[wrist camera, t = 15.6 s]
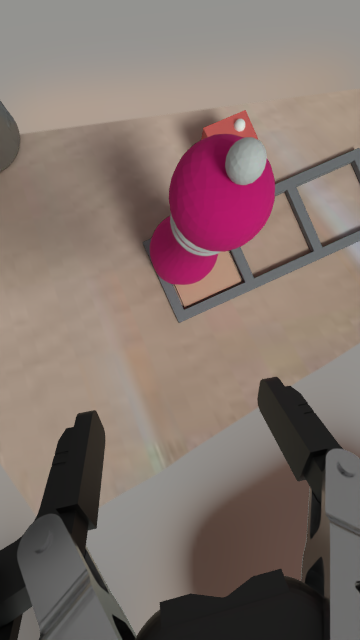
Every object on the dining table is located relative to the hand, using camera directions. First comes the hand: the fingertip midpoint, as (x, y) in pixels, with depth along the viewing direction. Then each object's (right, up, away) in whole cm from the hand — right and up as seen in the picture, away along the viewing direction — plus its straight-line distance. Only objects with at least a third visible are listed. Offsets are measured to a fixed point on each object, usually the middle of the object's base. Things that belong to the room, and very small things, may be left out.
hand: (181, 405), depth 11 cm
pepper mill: (0, +12, +18) cm, 22 cm away
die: (+6, +23, +19) cm, 30 cm away
